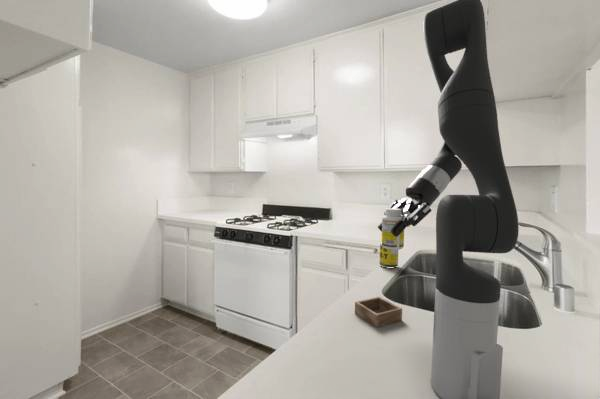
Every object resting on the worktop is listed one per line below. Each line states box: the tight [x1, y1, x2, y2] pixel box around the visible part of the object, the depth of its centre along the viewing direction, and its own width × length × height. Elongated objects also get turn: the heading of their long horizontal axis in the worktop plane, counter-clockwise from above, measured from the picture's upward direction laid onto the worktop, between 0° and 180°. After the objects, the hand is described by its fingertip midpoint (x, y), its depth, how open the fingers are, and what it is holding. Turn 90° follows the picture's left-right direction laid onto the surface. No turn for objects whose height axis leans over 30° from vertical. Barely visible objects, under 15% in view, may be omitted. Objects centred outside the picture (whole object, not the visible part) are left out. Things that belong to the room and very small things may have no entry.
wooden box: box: [354, 296, 403, 328], centre depth 76 cm, size 8×8×3 cm
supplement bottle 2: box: [379, 241, 399, 268], centre depth 120 cm, size 7×7×13 cm
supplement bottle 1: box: [381, 207, 405, 251], centre depth 77 cm, size 6×6×10 cm
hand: (386, 231), depth 76 cm, fingers closed on supplement bottle 1, 5 cm apart
